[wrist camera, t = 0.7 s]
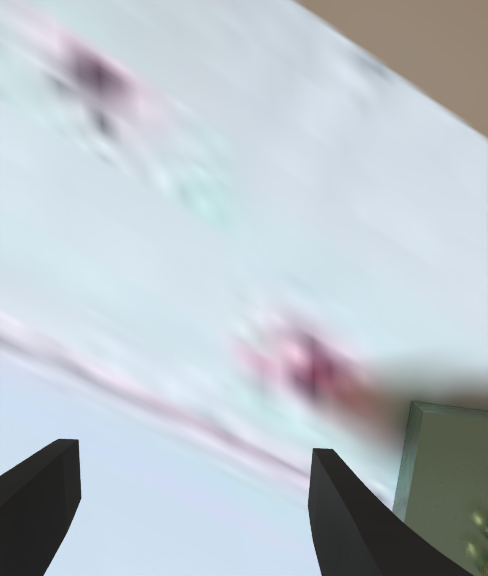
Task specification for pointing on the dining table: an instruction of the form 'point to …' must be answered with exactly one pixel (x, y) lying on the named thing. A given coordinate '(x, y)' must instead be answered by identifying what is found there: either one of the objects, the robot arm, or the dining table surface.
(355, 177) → the dining table surface
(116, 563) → the dining table surface
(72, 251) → the dining table surface
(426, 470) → the green slab
